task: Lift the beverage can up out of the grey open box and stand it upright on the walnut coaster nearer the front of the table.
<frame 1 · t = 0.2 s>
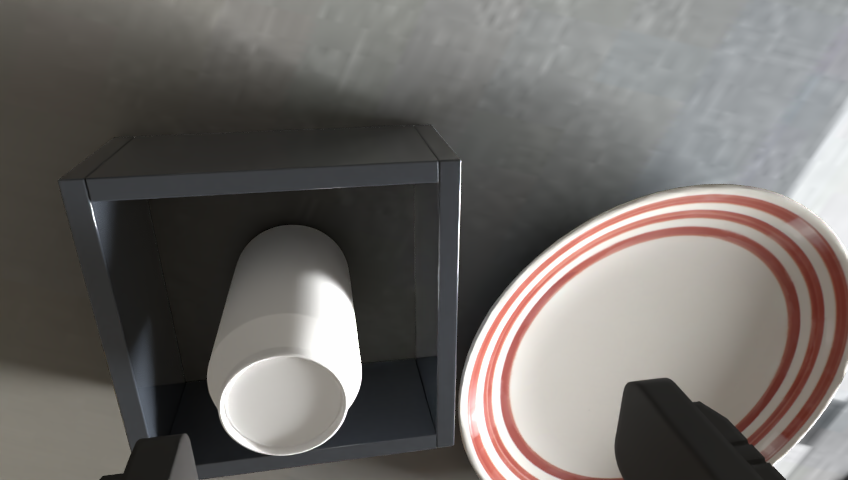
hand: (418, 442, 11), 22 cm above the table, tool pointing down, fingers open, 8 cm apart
beverage can: (293, 267, 33), resting in grey open box
grey open box: (293, 268, 33), on the table
dinner plate: (639, 356, 40), on the table
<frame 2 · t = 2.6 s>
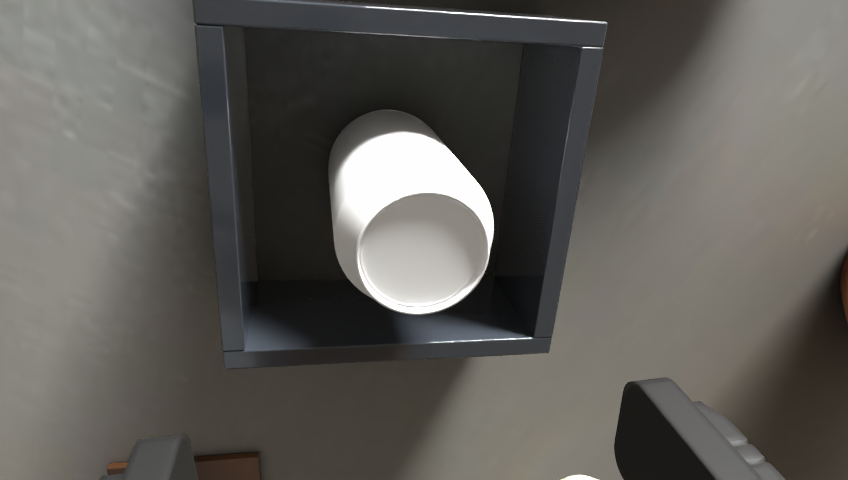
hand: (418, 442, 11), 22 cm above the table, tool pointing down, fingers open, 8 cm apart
beverage can: (384, 162, 31), resting in grey open box
grey open box: (385, 163, 31), on the table
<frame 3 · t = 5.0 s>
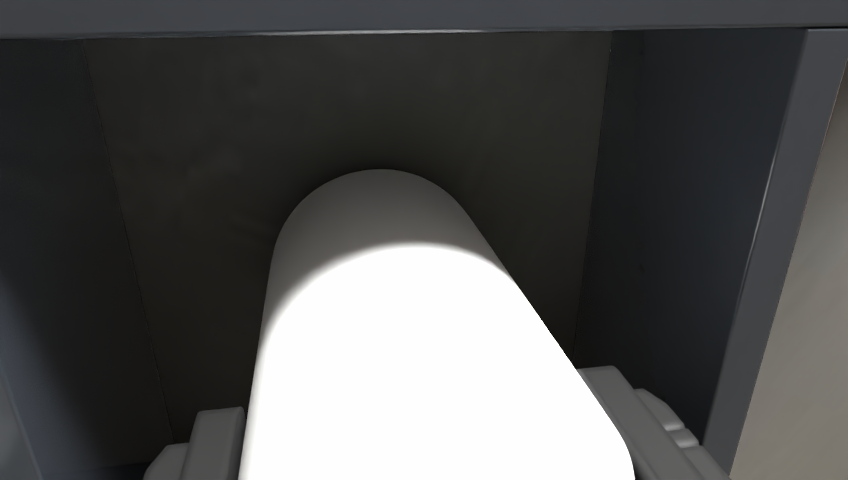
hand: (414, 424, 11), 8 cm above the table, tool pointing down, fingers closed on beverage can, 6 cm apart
beverage can: (374, 253, 18), resting in grey open box, touching gripper
grey open box: (375, 256, 18), on the table
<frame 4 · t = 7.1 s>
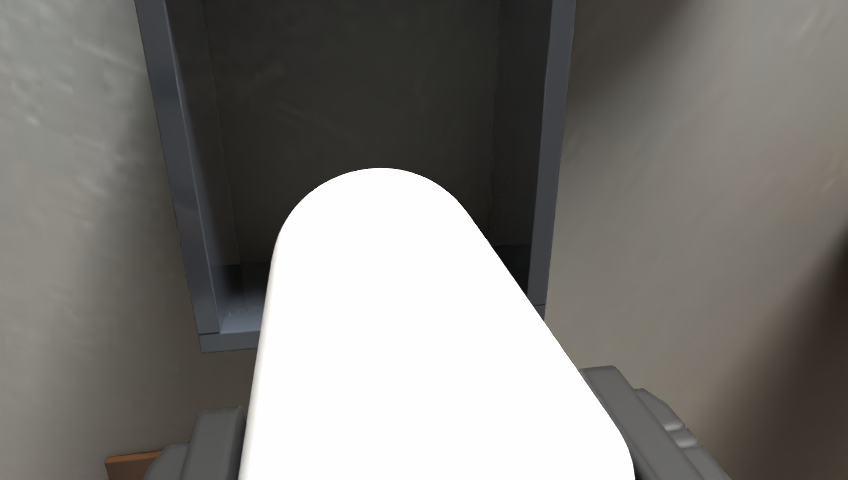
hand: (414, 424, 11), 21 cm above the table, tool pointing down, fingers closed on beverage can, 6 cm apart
beverage can: (375, 252, 18), point 13 cm above the table, touching gripper
grey open box: (362, 132, 30), on the table
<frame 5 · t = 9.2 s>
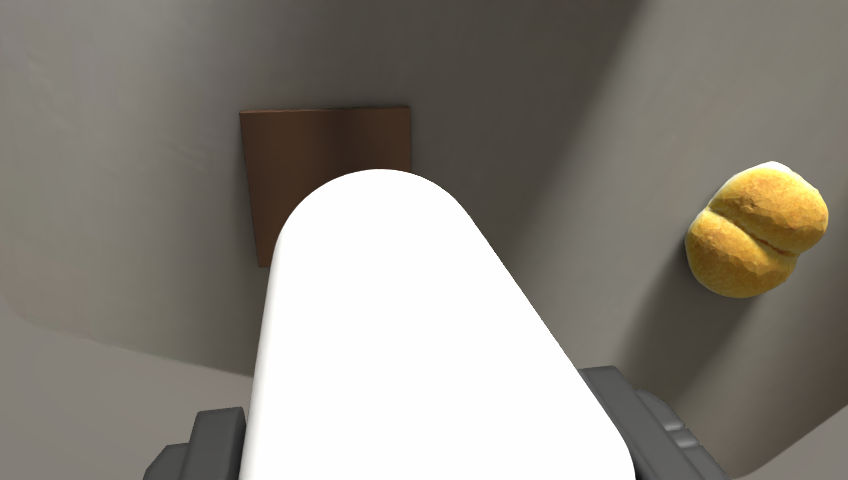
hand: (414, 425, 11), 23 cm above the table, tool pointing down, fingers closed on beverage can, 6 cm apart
beverage can: (375, 253, 18), point 15 cm above the table, touching gripper
bread roll: (739, 222, 39), on the table
coaster: (331, 187, 33), on the table
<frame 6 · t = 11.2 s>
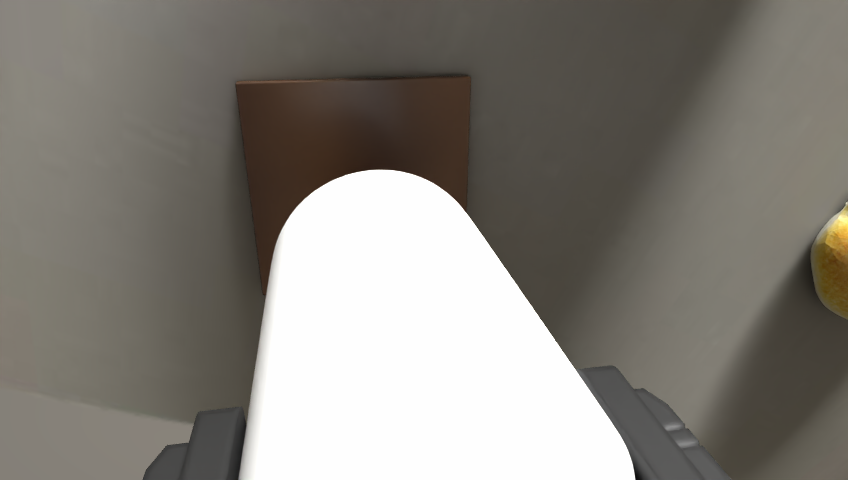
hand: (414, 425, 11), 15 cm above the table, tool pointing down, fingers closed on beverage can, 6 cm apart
beverage can: (375, 254, 18), point 7 cm above the table, touching gripper
coaster: (361, 187, 24), on the table
when the fingers open (8 cm above the table, at t = 13.3 s): beverage can stays where it is, resting on coaster.
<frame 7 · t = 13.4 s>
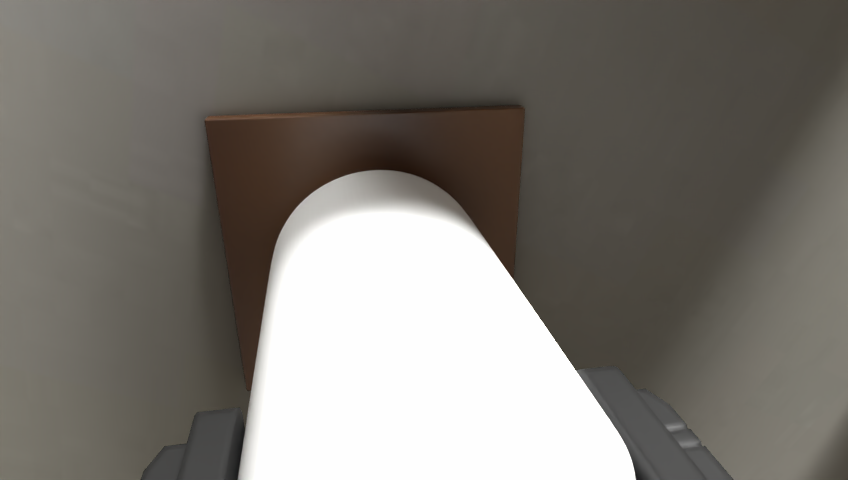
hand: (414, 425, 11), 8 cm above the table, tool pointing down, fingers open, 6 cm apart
beverage can: (375, 254, 18), resting on coaster
coaster: (376, 251, 18), on the table
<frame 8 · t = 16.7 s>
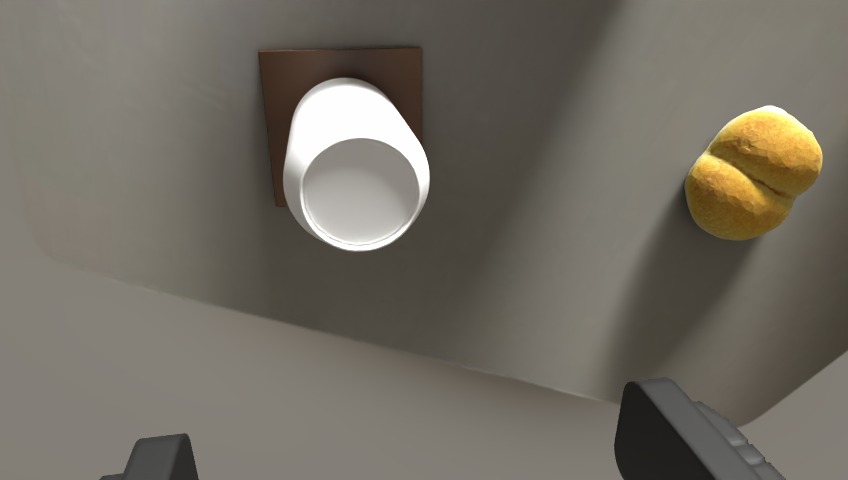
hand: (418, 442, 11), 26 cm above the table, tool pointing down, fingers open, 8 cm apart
beverage can: (345, 128, 34), resting on coaster
bread roll: (737, 168, 40), on the table
coaster: (346, 128, 34), on the table
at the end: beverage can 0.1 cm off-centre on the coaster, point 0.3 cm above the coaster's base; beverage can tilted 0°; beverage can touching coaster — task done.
